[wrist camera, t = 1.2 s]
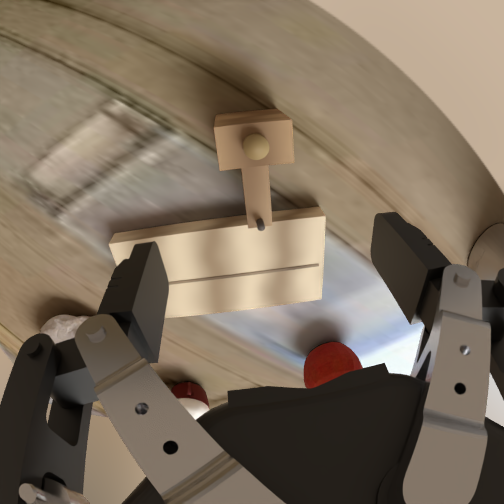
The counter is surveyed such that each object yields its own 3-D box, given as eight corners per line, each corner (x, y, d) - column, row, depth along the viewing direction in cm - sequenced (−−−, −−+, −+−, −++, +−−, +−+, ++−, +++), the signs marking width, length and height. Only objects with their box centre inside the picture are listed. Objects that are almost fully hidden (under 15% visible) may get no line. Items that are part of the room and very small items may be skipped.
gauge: (276, 108, 23) (294, 121, 18) (282, 205, 28) (298, 244, 23) (215, 114, 23) (213, 129, 18) (228, 211, 28) (231, 252, 23)
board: (319, 206, 29) (325, 216, 27) (316, 287, 34) (321, 299, 33) (114, 233, 28) (108, 244, 27) (142, 307, 34) (139, 320, 32)
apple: (310, 329, 38) (324, 379, 32) (361, 332, 40) (380, 376, 33) (291, 365, 42) (300, 411, 36) (338, 365, 44) (352, 408, 37)
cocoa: (182, 367, 41) (177, 441, 31) (220, 381, 43) (222, 451, 33) (158, 396, 45) (150, 460, 35) (192, 407, 47) (190, 469, 37)
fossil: (103, 331, 30) (123, 377, 36) (109, 304, 34) (126, 352, 40) (18, 325, 28) (48, 371, 34) (29, 301, 32) (54, 348, 38)
